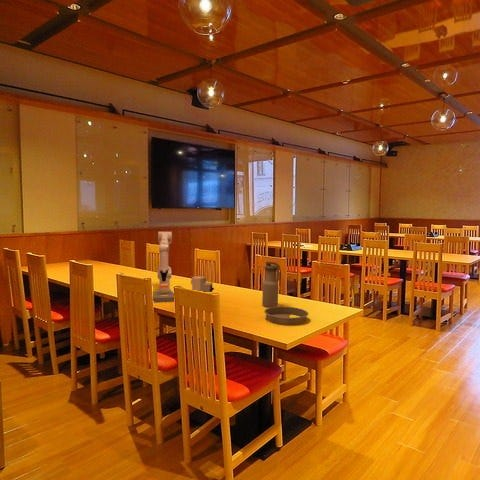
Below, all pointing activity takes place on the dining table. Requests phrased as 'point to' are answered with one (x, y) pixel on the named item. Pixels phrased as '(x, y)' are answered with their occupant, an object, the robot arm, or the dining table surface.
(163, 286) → the toggle lever
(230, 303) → the dining table surface
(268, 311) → the cake pan
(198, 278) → the circuit breaker
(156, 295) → the panel
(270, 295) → the water bottle
